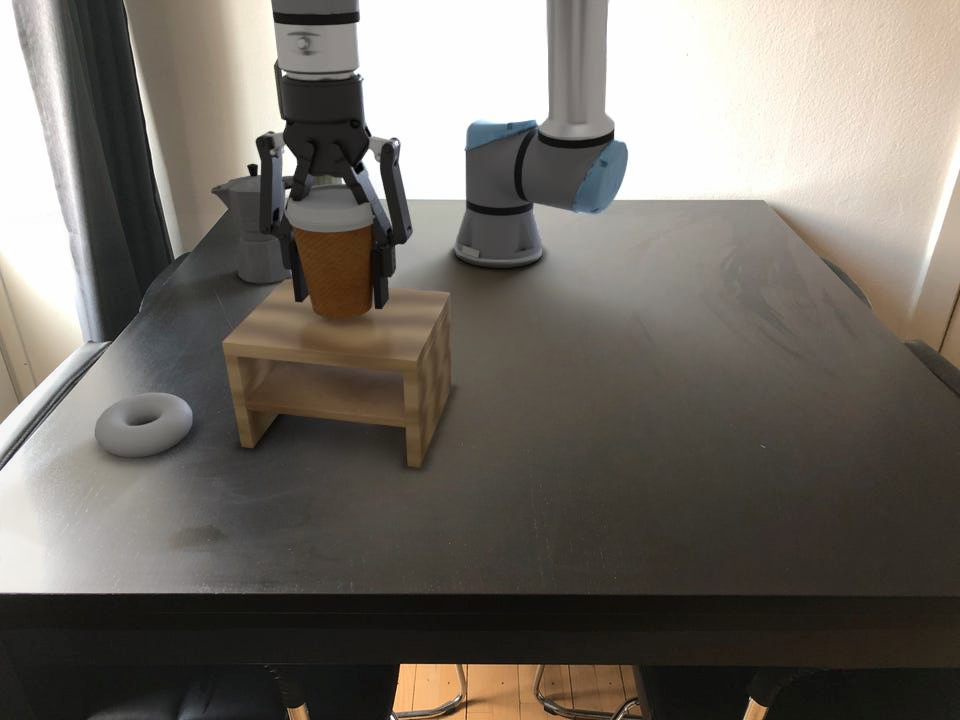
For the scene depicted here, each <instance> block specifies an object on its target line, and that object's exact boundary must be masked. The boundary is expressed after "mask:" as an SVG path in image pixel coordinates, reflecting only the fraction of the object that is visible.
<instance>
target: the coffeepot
mask: <svg viewBox="0 0 960 720" xmlns="http://www.w3.org/2000/svg"><path fill="white" fill-rule="evenodd" d="M246 166H247V170H248V173H249V175H246V176H245V175H244V176H241V177H237V178H233V179H232V178H231V179H229V180H228V181H227V182H225V183H223V184H219V185H216V186H214V187H212V188H211V190H210V193H211V194H212V195H215V196H217V198H218V199H220V201H221V202H222V203H223V204H224V206H225V207H226V208H227V210H229V211H230V213H231V215H232V216H231V217H232V219H233V221H234V225H235V227H236V228H237V229H239V233H240V234H239V235H240V237H239V239H238V270H237V271H238V273H237V275H238V277H239V278H240V279H242V280H243V281H245V282H247V283H250V284H255V285H256V284H258V285H268V284H275V283H281V282H283V281H284V280H285V279H290V278H292V272H291V270H287V269H285V268H284V266H283V263H282V255H281V247H280V242H279V240H278V239H277V238H276V237H275V236H272V235H270V234H268V235H264V234H262V233H261V232H260V230H259V215H260V179H261V174H259V173H258V172H259V164H257V163H250V164H247V165H246ZM293 176H294V174H293V175H285V176H284V175H282V189H281V212H280V221H281V220H282V216H283V213H284V210H285V207H286V191H288V190H291V188H292V184H293V181H294V180H293ZM312 186H313V185H312Z"/></svg>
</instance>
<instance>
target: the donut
mask: <svg viewBox="0 0 960 720" xmlns="http://www.w3.org/2000/svg"><path fill="white" fill-rule="evenodd" d="M192 426H193V411H192V408H191V407H190V405H189V404H188V403H187V402H186V401H185V400H184V399H183V398H180V397H179V396H178V395H174V394H170V393H167V392H166V393H165V392H146V393H139V394H135V395H131V396H128V397H125V398H123V399H121V400H119V401H116V402H114V403H113V404H111V405H110V406H108V408H106V409H104V411H102V413H101V414H100V416H99V417H98V418H97V420H96V423H95V426H94V437H95V439H96V442H97V443H98V445H99V447H100V448H102V450H104V451H106V453H107V452H108V453H109V454H111V455H114V456H118V457H123V458H143V457H149V456H153V455H156V454H160V453H162V452H165V451H167V450H169V449H171V448H173V447H175V446H176V445H177V444H179V443H180V442H181V441H182V440H183V439H184V438H185V437H187V435H188V433H189V432H190V430H191V428H192Z"/></svg>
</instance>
